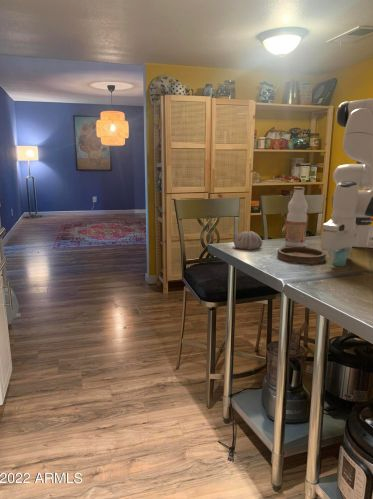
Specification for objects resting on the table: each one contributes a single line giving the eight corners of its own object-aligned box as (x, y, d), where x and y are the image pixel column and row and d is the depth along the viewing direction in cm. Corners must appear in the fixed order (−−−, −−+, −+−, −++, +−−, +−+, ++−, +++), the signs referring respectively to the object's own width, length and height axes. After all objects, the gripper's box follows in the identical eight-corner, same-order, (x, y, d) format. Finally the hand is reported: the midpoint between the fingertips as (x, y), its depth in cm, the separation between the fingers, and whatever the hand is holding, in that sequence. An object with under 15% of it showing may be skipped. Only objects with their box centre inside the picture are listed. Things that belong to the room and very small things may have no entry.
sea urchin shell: (264, 251, 172) (265, 233, 170) (234, 250, 173) (235, 233, 171) (260, 245, 185) (261, 228, 183) (232, 244, 186) (232, 228, 184)
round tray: (296, 251, 173) (297, 245, 172) (334, 259, 158) (334, 253, 157) (268, 256, 162) (268, 250, 161) (305, 266, 147) (306, 259, 146)
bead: (336, 262, 154) (337, 248, 153) (348, 265, 150) (349, 251, 149) (328, 264, 151) (330, 250, 150) (340, 266, 147) (342, 252, 146)
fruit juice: (292, 248, 179) (296, 187, 173) (281, 244, 188) (285, 186, 182) (309, 246, 182) (314, 187, 176) (297, 243, 191) (301, 186, 185)
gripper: (350, 221, 156) (346, 254, 159) (319, 225, 144) (316, 261, 147) (365, 223, 151) (361, 257, 154) (335, 227, 139) (331, 264, 142)
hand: (339, 259), depth 150 cm, fingers open, 8 cm apart
